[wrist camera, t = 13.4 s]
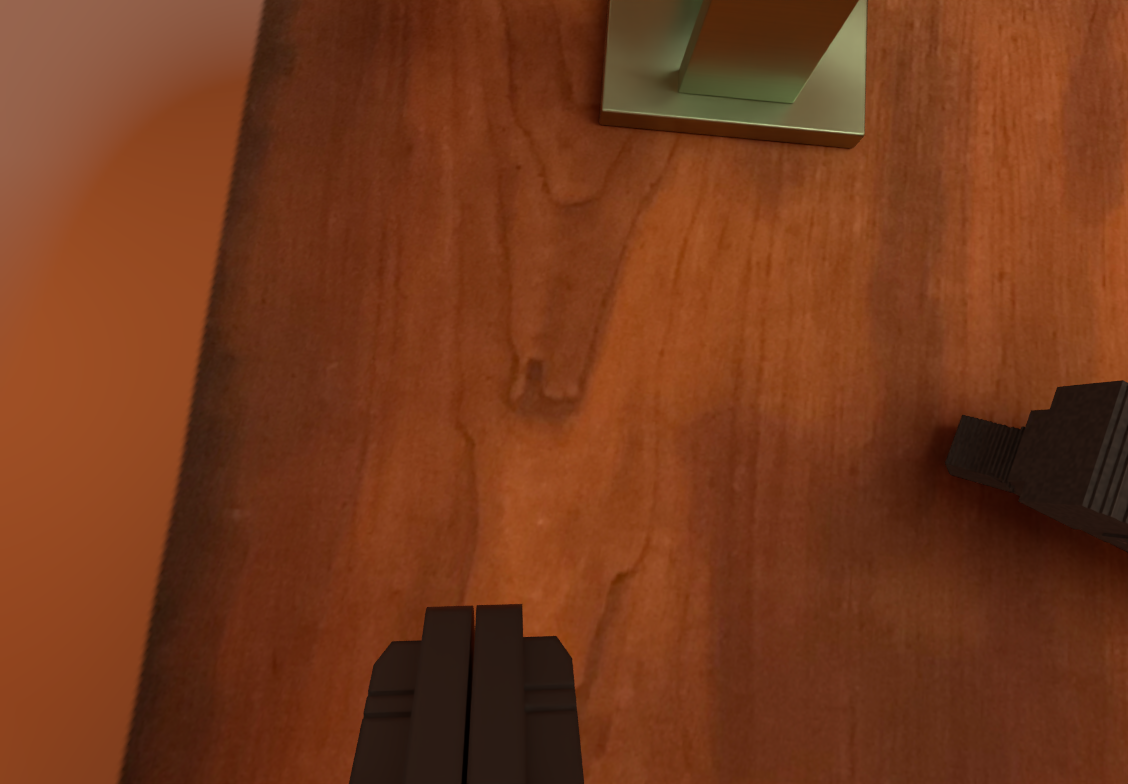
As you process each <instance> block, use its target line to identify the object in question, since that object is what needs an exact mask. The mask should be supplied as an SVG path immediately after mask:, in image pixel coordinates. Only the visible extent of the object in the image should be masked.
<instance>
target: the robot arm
mask: <svg viewBox="0 0 1128 784" xmlns="http://www.w3.org/2000/svg"><path fill="white" fill-rule="evenodd" d="M349 784H584V778H583V768H582V757H581V747H580V736H579V726H578V716H577V707H576V695H575V687H574V674H573V664H572V658H571V656H570V655H569V653H568V652H567V650H566V649H565V648H564V646H563V645H562V643H561V642H560V641H559V639H558V638H557V636H543V637H523V618H522V604H506V605H477V608H476V624H475V625H474V608H473V606H445V607H427V608H426V613H425V620H424V628H423V635H422V641H393V642H391V644H390V645H389V646H388V647H387V649H386V650H385V651H384V653H383V654H382V655H381V656H380V658H379V659H378V660H377V661H376V663H375V664H374V666H373V671H372V675H371V680H370V685H369V690H368V697H367V700H366V704H365V709H364V718H363V719H362V724H361V728H360V733H359V738H358V743H357V748H356V753H355V757H354V762H353V767H352V772H351V777H350V781H349Z"/></svg>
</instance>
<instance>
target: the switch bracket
mask: <svg viewBox="0 0 1128 784" xmlns="http://www.w3.org/2000/svg"><path fill="white" fill-rule="evenodd" d="M867 7H868V0H608V7H607V21H606V34H605V48H604V61H603V75H602V89H601V102H600V116H599V123H600V124H601V125H610V126H621V127H631V128H642V129H653V130H663V131H674V132H684V133H695V134H706V135H716V136H727V137H738V138H748V139H759V140H770V141H780V142H791V143H801V144H812V145H823V146H833V147H844V148H854V147H855V146H856V145H857V143H858V142H859V141H860V140H861V139H862V138H863V137H864V135H865V94H866V51H867Z"/></svg>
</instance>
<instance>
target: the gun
mask: <svg viewBox="0 0 1128 784" xmlns="http://www.w3.org/2000/svg"><path fill="white" fill-rule="evenodd" d="M945 465H946V466H947V468H948V472H949V474H951V475H953V476H957V477H960V478H963V479H966V480H970V481H974V482H978V483H981V484H983V485H987V486H991V487H995V488H997V489H1001V490H1005V491H1009V492H1012V493H1014V494H1016V495H1018V496H1020V498H1019V502H1021V503H1023V504H1025V505H1027V506H1029V507H1031V508H1033V509H1035V510H1037V511H1039V512H1041V513H1043V514H1045V515H1047V516H1049V517H1051V518H1053V519H1055V520H1057V521H1059V522H1061V523H1063V524H1065V525H1067V526H1069V527H1071V528H1073V529H1079V530H1083V531H1084V532H1086V533H1088V534H1090V535H1092V536H1094V537H1096V538H1098V539H1100V540H1102V541H1104V542H1108V543H1110V544H1112V545H1114V546H1116V547H1118V548H1120V549H1122V550H1124V551H1126V552H1128V383H1127V382H1125V381H1113V382H1103V383H1093V384H1083V385H1073V386H1063V387H1057V390H1056V392H1055V395H1054V398H1053V401H1052V404H1051V407H1050V409H1048V410H1033V411H1031V412H1030V415H1029V418H1028V421H1027V424H1026V427H1021V430H1020V429H1018V428H1014V427H1011V428H1009V427H1007V426H1006V425H1001V424H997V423H993V422H991V421H990V422H989V421H987V420H982V419H978V418H974V417H970V416H966V415H962V417H961V420H960V423H959V425H958V428H957V431H956V434H955V437H954V439H953V442H952V445H951V448H950V451H949V453H948V456H947V459H946V462H945Z"/></svg>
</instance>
